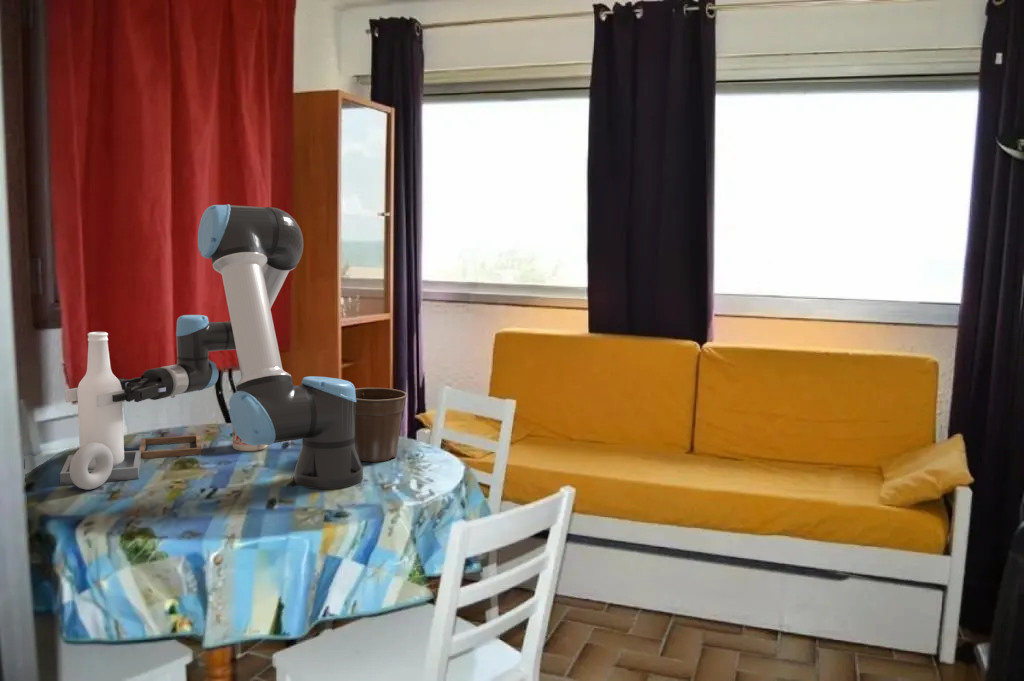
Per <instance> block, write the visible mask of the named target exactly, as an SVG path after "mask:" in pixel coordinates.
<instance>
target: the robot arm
mask: <svg viewBox="0 0 1024 681" xmlns="http://www.w3.org/2000/svg"><path fill="white" fill-rule="evenodd" d="M197 231H198V232H197V247H198V252H199V254H200V256H201V257H203V258H205V259H211V264H212V269H214V271H216V272H217V273H219V274H220V275H221V276H222V277H221V278H222V283H223V288H224V294H225V298H226V304H227V309H228V314H229V319H230V320H229V321H209V317H208V316H207V315H205V314H204V315H202V314H183V315H180V316H179V317H178V318H177V320H176V329H175V330H176V332H175V336H176V358H177V360H176V364H171V365H165V366H161V367H155V368H149V369H146V370H145V371H144V372H143V373H142V374H141V376H140V377H132V378H129V379H127V378H126V377H122V378H118V380H119V381H120V384H121V387H122V390H117V391H112V392H107V393H102V394H97V407H103V406H107V405H112V404H116V403H121V402H122V403H125V402H128V403H130V402H133V401H134V402H135V403H139V402H142V401H146V400H152V401H156V400H162V399H166V398H168V397H169V398H172V399H174V398H176V396H177V395H178V396H179V395H182V394H186V393H187V394H188V393H192V392H197V391H203V390H206V389H208V388H211V387H213V386H215V384H216V383H217V382H218V380H219V370H218V368H217V365H216V363H215V362H214V361H212V360H210V352H218V351H235V350H236V355H237V361H238V366H239V371H240V376H241V378H240V380H239V381H238V382H237V383H236V385H235V390H236V391H235V392H234V393H232V395H231V396H230V398H229V403H228V406H229V409H228V411H229V418H230V422H231V426H232V425H233V426H232V429H233V428H234V430H235V432H236V434H237V435H238V437H239V438H240V439H241V440H242V441H243V442H244V443H246V444H248V445H252V446H256V445H268V446H270V445H272V444H276V443H283V442H289V441H290V442H291V441H296V440H301V441H302V443H301V444H302V445H301V450H300V454H299V455H298V459H297V462H296V465H295V468H294V471H293V472H294V473H293V474H294V476H293V477H294V478H293V480H294V482H295V484H296V485H298V486H300V487H304V488H309V489H316V490H330V489H332V490H333V489H341V488H342V489H343V488H346V487H351V486H353V485H358V483H360V482H361V481H362V480H363V478H364V475H363V474H364V471H363V470H364V469H363V468H364V467H363V465H362V461H361V460H360V458H359V455H358V452H357V449H356V446H355V414H356V402H357V401H356V394H355V389H356V387H355V385H354V384H353V383H352V382H351V381H349V380H346V379H341V378H335V377H327V376H315V375H314V376H312V375H311V376H305V377H303V378H302V380H301V382H300V383H301V384H300V385H294V383H293V378H292V375H291V374H290V373H289V372H286V371H285V370H284V369H283V365H282V359H281V356H280V355H281V354H280V350H279V345H278V339H277V336H276V330H275V326H274V320H273V315H272V311H271V309H272V306H273V304H274V302H275V301H276V299H277V296H278V295H279V293H280V290H281V289H282V287H283V285H284V283H285V281H286V278H288V277H287V276H288V274H289V273H290V272H291V271H293V270H294V269H296V268H297V266H298V264H299V262H300V260H301V258H302V255H303V252H304V238H303V232H302V229H301V228H300V225H299V224H298V223H297V221H296V220H295V218H293V216H291V215H290V214H289V213H288V212H286V211H285V210H282V209H280V208H277V207H270V206H267V207H266V206H250V205H249V206H248V205H233V204H232V205H231V204H229V203H227V204H213V205H210V206H208V207H207V208H206V209H205V210H204V212H203V213H202V216H201V218H200V222H199V225H198V230H197ZM77 390H78V387H74V388H68V389H65V390H64V397H65V403H72V402H78V396H77Z"/></svg>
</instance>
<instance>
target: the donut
mask: <svg viewBox="0 0 1024 681" xmlns="http://www.w3.org/2000/svg"><path fill="white" fill-rule="evenodd" d="M73 455H74V456H73V458H72V460H71V463H70V470H69V472H70V478H71V479H72V481H73V483H74V484H73V485H75V486H77V487H78V488H79V489H83V490H86V491H89V490H95V489H97V488H99V487H101V486H103V485H104V483H105V482H107V481H106V480H107V479H108V477H109V476H110V474H111V471H112V468H113V455H112V453H111V451H110V449H109V448H108V447H107V446H106V445H104V444H102V443H98V442H93V443H88V444H86V445H84V446H82V447H81V448H80V447H79V449H77V450H76V452H74V454H73ZM93 458H95V460H96V466H95V469H94V470H93V472H92V473H90V474H89V472H88V465H89V462H90V461H91V460H92V459H93Z"/></svg>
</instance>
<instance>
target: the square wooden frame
mask: <svg viewBox="0 0 1024 681" xmlns="http://www.w3.org/2000/svg"><path fill="white" fill-rule="evenodd" d="M180 443H181V444H182V443H195V444H196V445H195V446H196V447H191V448H190V447H188V448H178V449H177V448H176V449H161V450H147V451H146V446H151V445H152V446H153V445H166V444H167V445H169V444H180ZM139 450H141V460H143V459H144V460H145V459H158V458H169V457H170V458H171V457H184V456H186V455H187V456H197V455H198V456H199V455H200V454H201V455H202V451H203V450H202V441H201V434H195V435H180V436H179V435H177V436H176V435H175V436H163V437H147V438H143V437H142V438H141V439H140V444H139Z"/></svg>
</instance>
